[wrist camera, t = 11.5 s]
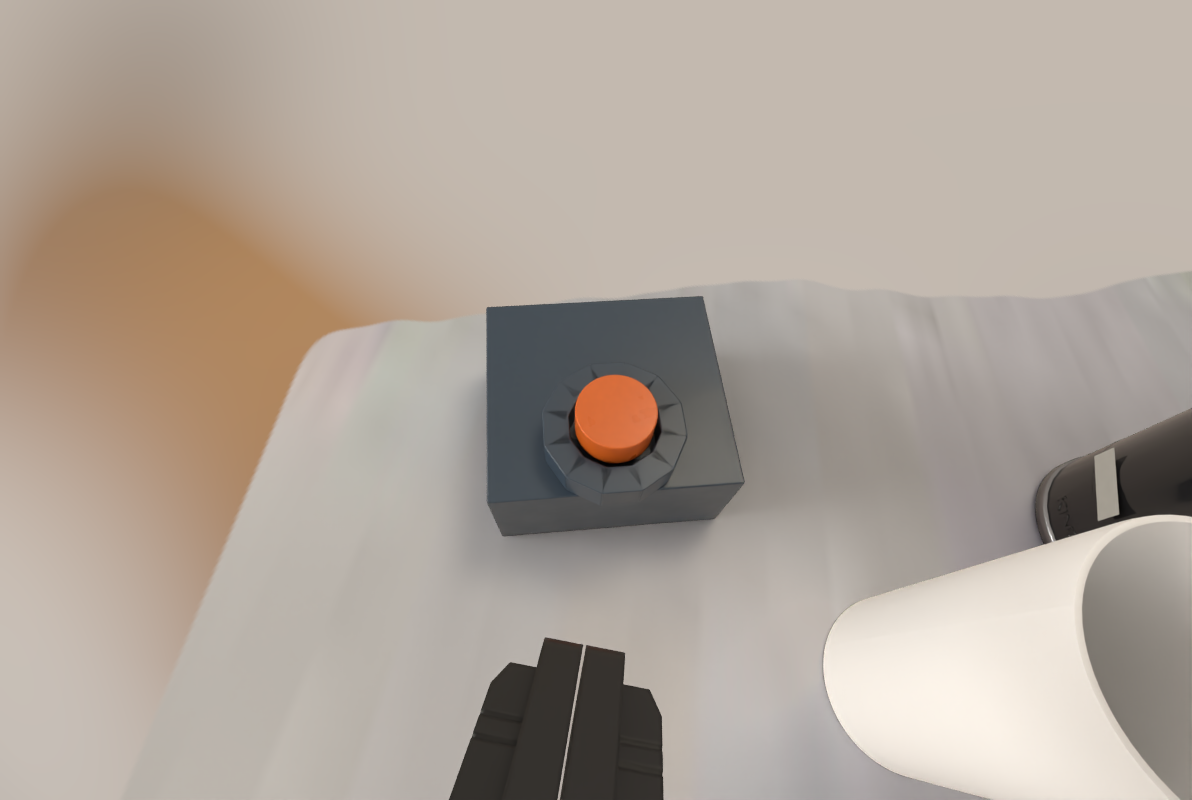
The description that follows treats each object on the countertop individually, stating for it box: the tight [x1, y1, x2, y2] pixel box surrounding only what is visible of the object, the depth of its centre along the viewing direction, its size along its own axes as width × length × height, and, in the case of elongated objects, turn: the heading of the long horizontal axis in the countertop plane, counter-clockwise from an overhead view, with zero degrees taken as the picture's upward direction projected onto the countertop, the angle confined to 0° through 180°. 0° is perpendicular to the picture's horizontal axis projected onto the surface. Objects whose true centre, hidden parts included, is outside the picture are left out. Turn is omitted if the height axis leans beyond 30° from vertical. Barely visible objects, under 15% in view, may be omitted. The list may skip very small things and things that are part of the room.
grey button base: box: [486, 296, 744, 536], centre depth 30 cm, size 12×12×8 cm
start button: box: [575, 375, 658, 463], centre depth 25 cm, size 4×4×2 cm
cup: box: [823, 515, 1192, 800], centre depth 21 cm, size 8×8×16 cm
